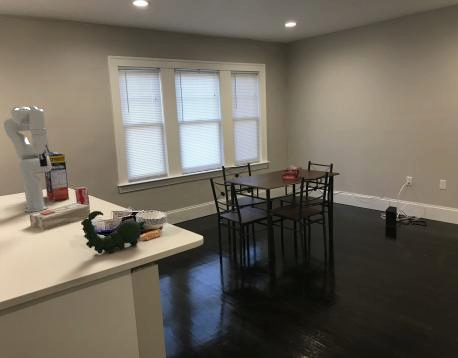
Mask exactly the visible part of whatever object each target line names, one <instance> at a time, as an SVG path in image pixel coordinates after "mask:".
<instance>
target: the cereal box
mask: <svg viewBox="0 0 458 358" xmlns="http://www.w3.org/2000/svg"><path fill="white" fill-rule="evenodd" d="M48 154H49V155H48V156H49V159H50V162H51V165H52V168H51V170H50V171H49V172H45V173H44V178H45V189H46V191H45V192H46V196H47V197H48V198H49V199H50V200H51V201H52V202H57V201H58V202H60V201H65V200H69V199H70V196H69V185H68V174H67V173H68V172H67V164H66V163H67V162H66V156H65V154H63V153H60V152H56V151H50V152H49V153H48Z"/></svg>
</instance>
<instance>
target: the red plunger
mask: <svg viewBox="0 0 458 358" xmlns="http://www.w3.org/2000/svg"><path fill="white" fill-rule="evenodd" d="M48 210H49V211H46V210H45V211H46V212H42V211H41V212H42V213H40V214H41V215H48V214H52V213H55V211H50V209H48Z"/></svg>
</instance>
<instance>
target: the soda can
mask: <svg viewBox="0 0 458 358" xmlns="http://www.w3.org/2000/svg"><path fill="white" fill-rule="evenodd" d="M74 190H75V191H74V192H75V201H76V203H77V204H83V205H89V207H90V206H91V204H90V197H89V189H88V188H87V186H76V187H75V189H74Z"/></svg>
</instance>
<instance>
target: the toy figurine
mask: <svg viewBox="0 0 458 358" xmlns="http://www.w3.org/2000/svg"><path fill="white" fill-rule="evenodd" d="M99 215H100V216H104V215H105V214H104V213H103V212H102V211H99V210H93V211H90V214H89V216H88V217H87V218H83V221H81V225H82V226H83V227H82V231H83V232H84V233H85V234H84V235H83V238H85V239H86V240H87V242H86V243H85V245H86V246H87V247H88V248H90V249H92V248H94V251H95V252H97V253H98V254H99V255H101V254H103V251H105V252H108V253H109V254H113V253H114V252H115V249H116V248H118V249H119V250H124V249H125V247H126V245H125V244H130V246H136V245H138V244H139V241H138V239H140V237H141V228H142V227H143V226H144V225H145V223H146V220H143V221H138V222H137V221H135V220H132V219H127V220H123V221H122V222H121V223H119V225H118V226H117V228H116V230H113V232H111V233H109V235H106V236H103V237H101V236H100V235H99V234H98V232H97V231H96V230H95V226H94V225H93V220H94V219H95V218H96V217H97V216H99Z"/></svg>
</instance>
